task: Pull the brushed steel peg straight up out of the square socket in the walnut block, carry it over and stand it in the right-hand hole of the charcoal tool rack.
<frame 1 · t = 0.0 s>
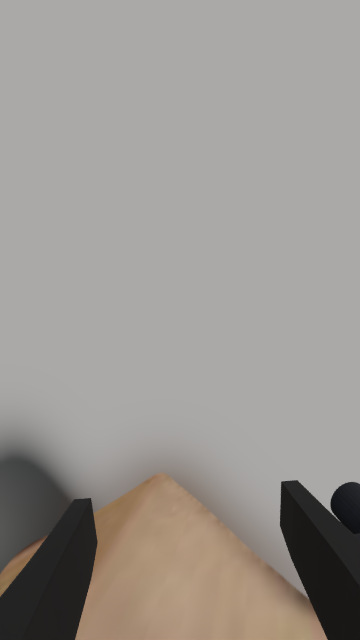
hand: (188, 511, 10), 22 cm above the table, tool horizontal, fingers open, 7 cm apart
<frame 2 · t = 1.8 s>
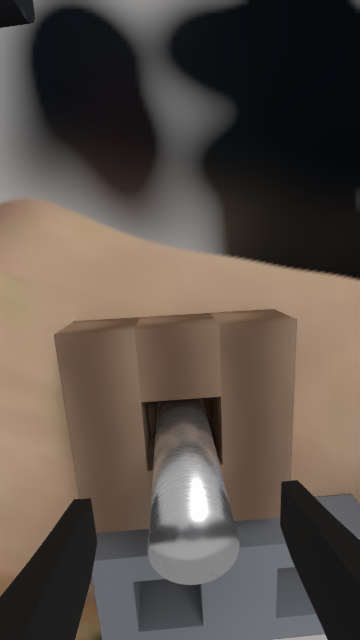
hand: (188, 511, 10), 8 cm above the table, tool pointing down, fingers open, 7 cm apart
tool rack: (229, 549, 20), on the table
steel peg: (180, 405, 18), resting in socket block
socket block: (180, 406, 18), on the table
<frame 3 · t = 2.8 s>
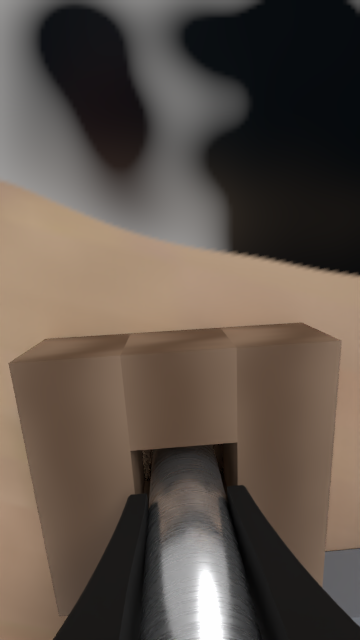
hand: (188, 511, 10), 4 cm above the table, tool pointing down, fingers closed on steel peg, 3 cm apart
tool rack: (241, 611, 17), on the table
steel peg: (182, 443, 14), resting in socket block, touching gripper
socket block: (182, 443, 14), on the table
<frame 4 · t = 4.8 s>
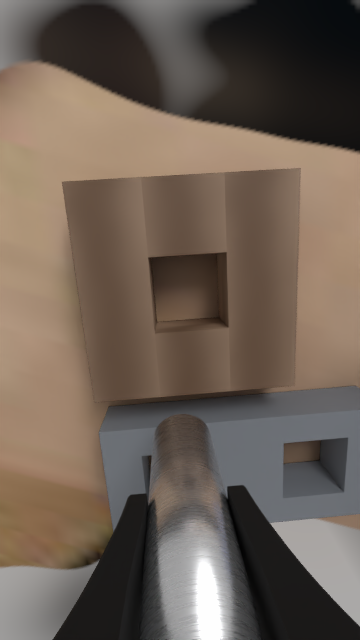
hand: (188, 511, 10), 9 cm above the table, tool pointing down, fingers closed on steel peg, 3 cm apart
tool rack: (235, 444, 21), on the table
steel peg: (182, 440, 14), point 6 cm above the table, touching gripper
socket block: (186, 288, 18), on the table
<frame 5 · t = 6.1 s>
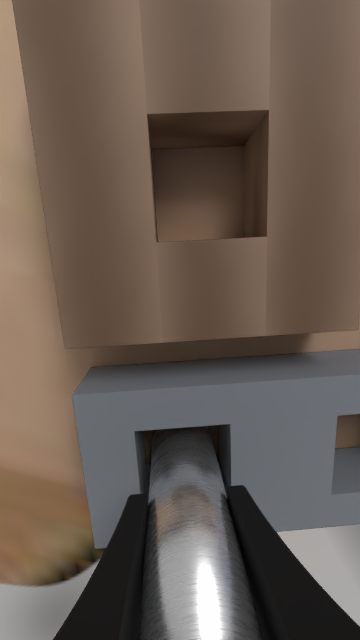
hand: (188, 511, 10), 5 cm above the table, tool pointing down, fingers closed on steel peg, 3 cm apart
tool rack: (260, 422, 15), on the table
steel peg: (182, 439, 14), point 1 cm above the table, touching gripper
socket block: (200, 197, 13), on the table
when the fingers open (5 cm above the table, at t = 6.9 s): steel peg stays where it is, resting in tool rack.
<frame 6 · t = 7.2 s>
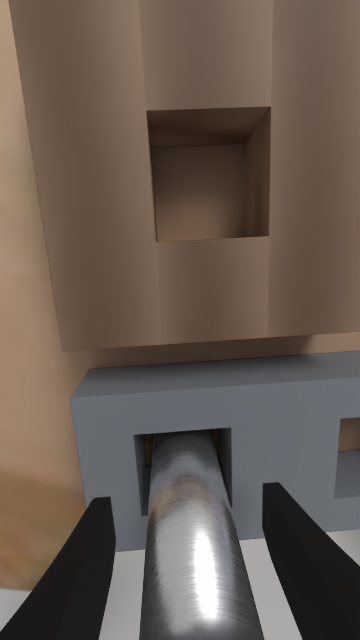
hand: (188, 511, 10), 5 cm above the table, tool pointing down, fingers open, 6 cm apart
tool rack: (262, 425, 15), on the table
steel peg: (181, 428, 15), resting in tool rack
socket block: (200, 196, 12), on the table
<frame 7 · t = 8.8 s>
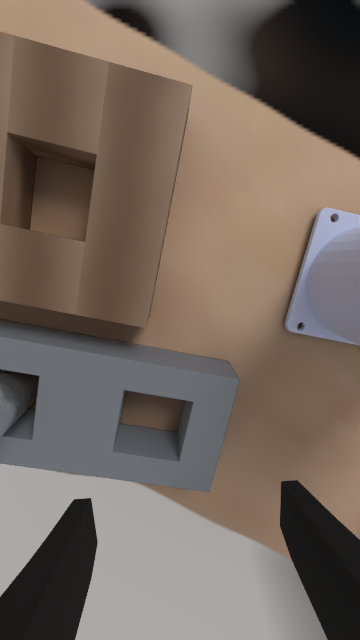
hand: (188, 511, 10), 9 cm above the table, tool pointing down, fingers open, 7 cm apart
tool rack: (90, 391, 19), on the table
steel peg: (25, 378, 19), resting in tool rack
socket block: (68, 202, 16), on the table
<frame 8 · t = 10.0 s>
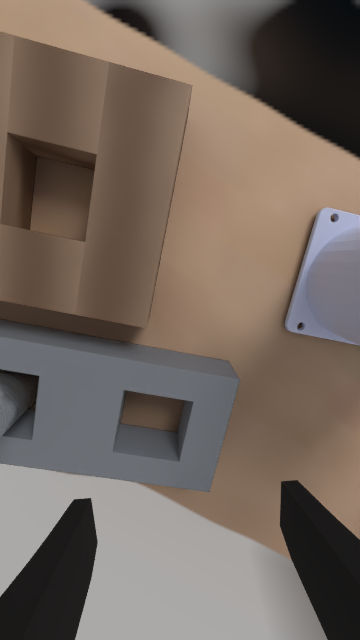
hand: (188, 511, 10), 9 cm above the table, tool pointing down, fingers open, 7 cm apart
tool rack: (90, 391, 19), on the table
steel peg: (25, 378, 19), resting in tool rack
socket block: (68, 202, 16), on the table
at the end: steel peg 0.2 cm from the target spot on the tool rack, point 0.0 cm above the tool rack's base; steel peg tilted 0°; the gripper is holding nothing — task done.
